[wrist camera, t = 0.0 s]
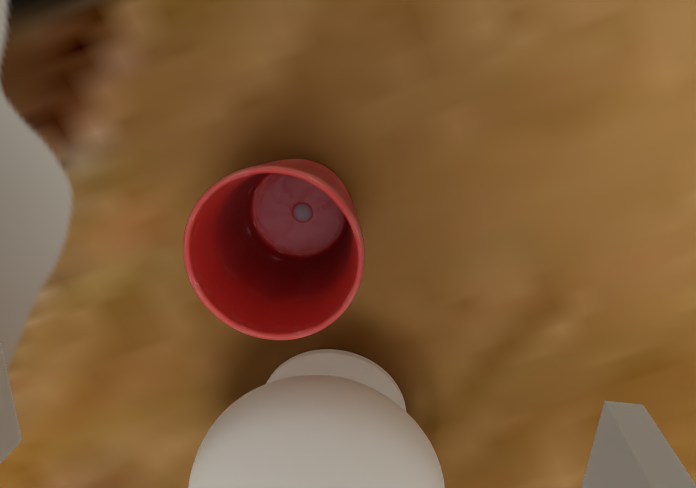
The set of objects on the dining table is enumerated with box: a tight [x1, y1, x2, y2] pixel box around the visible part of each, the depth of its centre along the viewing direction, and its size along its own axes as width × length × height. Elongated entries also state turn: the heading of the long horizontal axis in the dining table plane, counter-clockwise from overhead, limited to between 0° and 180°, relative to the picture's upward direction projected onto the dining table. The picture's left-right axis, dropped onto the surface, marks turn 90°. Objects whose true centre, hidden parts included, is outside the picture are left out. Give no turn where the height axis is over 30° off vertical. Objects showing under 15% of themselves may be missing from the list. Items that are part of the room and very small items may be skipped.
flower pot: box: [183, 159, 365, 340], centre depth 35 cm, size 11×11×10 cm
